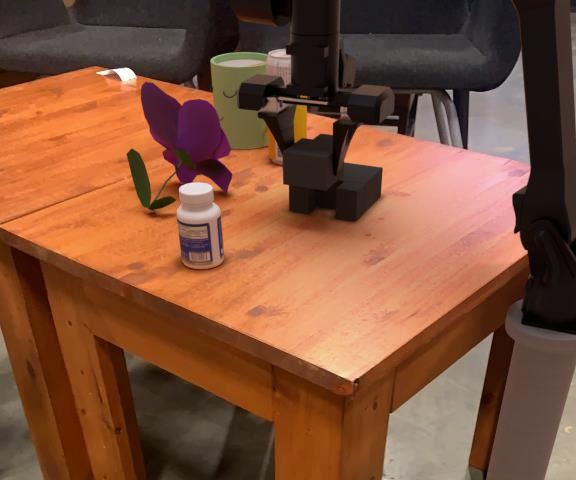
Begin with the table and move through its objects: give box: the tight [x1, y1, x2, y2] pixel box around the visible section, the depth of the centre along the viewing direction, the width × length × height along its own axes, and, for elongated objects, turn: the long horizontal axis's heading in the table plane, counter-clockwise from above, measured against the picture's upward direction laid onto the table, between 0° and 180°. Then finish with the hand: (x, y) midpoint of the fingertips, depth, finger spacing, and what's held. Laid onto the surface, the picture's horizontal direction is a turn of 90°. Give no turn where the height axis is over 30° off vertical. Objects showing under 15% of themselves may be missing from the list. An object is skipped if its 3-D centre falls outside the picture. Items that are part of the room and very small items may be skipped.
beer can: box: [266, 48, 308, 166], centre depth 117 cm, size 6×6×15 cm
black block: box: [282, 133, 345, 191], centre depth 99 cm, size 6×9×4 cm
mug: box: [209, 51, 268, 150], centre depth 125 cm, size 13×10×12 cm
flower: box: [126, 81, 233, 213], centre depth 106 cm, size 15×15×14 cm
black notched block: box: [288, 161, 384, 222], centre depth 107 cm, size 10×10×4 cm
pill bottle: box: [176, 181, 225, 270], centre depth 92 cm, size 5×5×9 cm
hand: (314, 171), depth 98 cm, fingers closed on black block, 6 cm apart
